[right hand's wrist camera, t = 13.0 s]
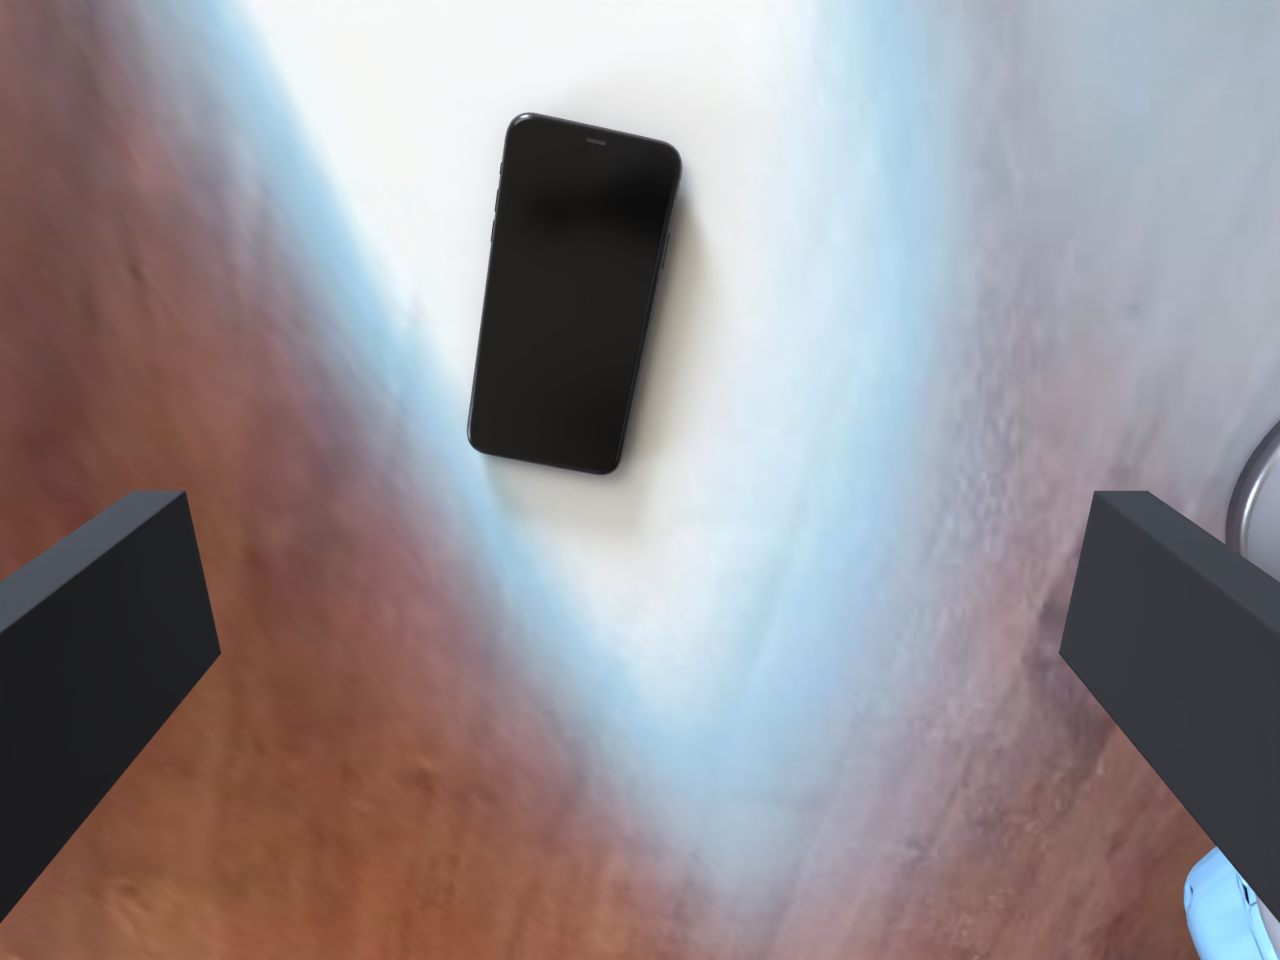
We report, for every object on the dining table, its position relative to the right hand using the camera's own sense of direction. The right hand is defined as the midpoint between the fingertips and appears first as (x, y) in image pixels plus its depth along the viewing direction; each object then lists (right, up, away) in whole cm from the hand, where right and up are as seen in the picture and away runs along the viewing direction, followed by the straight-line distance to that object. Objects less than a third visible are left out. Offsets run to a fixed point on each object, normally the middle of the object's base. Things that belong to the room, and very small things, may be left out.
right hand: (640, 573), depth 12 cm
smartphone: (-3, +10, +28) cm, 29 cm away
